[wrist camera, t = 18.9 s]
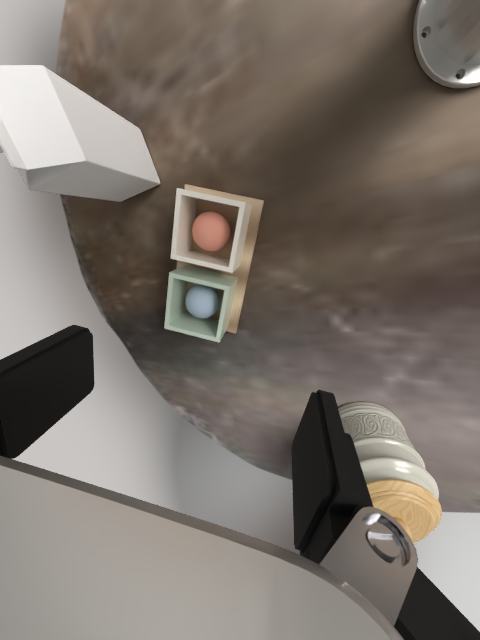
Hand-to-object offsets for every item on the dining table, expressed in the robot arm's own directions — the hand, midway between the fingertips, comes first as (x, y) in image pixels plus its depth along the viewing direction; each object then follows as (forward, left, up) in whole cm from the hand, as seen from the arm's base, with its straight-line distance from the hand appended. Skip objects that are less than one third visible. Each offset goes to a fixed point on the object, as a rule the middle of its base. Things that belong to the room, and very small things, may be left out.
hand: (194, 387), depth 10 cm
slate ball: (+6, -7, -29) cm, 30 cm away
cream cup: (-4, -7, -29) cm, 30 cm away
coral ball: (-4, -7, -29) cm, 30 cm away
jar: (+24, +24, -30) cm, 46 cm away
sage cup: (+6, -7, -29) cm, 30 cm away
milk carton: (-10, -21, -30) cm, 38 cm away
